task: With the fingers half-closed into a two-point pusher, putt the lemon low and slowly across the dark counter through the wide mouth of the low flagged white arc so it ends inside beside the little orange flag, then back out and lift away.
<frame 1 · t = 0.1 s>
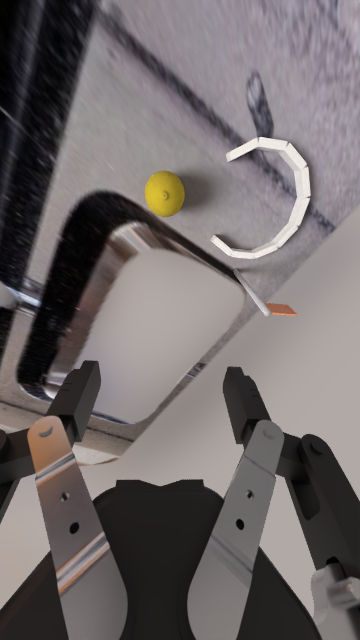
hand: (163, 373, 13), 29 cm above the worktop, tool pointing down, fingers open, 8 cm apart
lemon: (165, 193, 33), on the worktop
flagged white arc: (251, 205, 35), on the worktop
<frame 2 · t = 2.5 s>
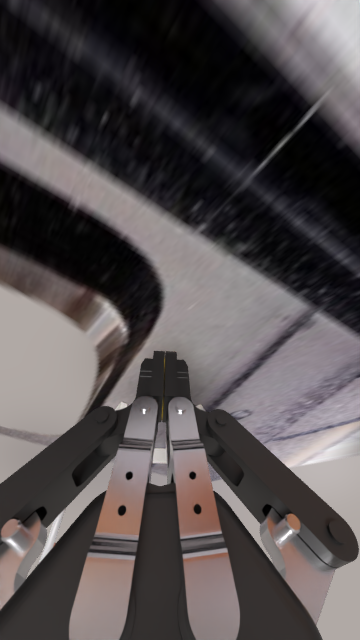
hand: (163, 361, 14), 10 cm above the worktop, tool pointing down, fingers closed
flagged white arc: (160, 425, 35), on the worktop
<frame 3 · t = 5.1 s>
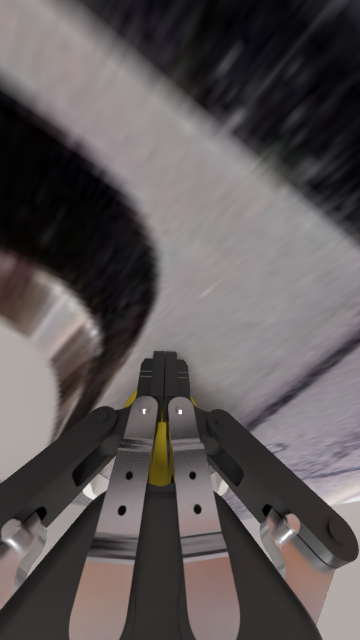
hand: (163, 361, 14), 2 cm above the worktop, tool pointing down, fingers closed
lemon: (162, 380, 18), on the worktop, touching gripper
flagged white arc: (158, 465, 25), on the worktop
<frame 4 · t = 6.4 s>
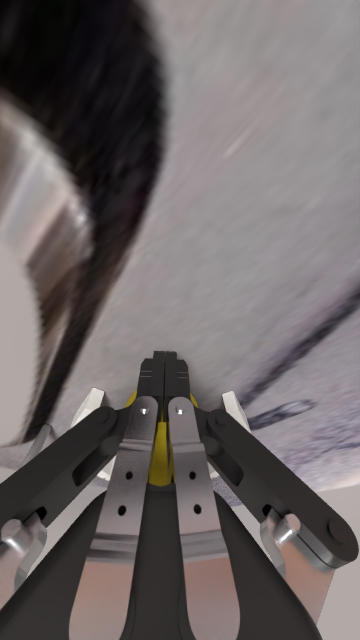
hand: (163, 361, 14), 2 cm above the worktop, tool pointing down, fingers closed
lemon: (163, 378, 18), on the worktop, touching gripper
flagged white arc: (162, 428, 21), on the worktop
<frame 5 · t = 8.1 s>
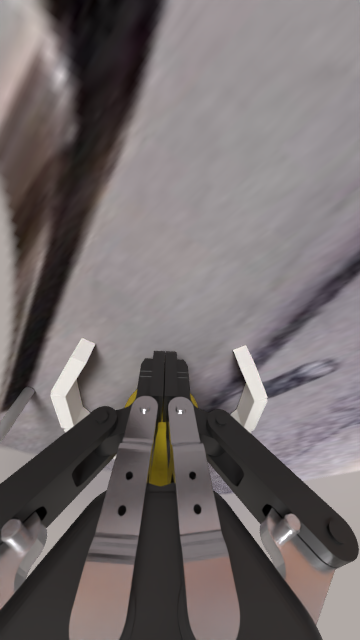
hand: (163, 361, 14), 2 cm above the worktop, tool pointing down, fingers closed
lemon: (163, 378, 18), on the worktop, touching gripper
flagged white arc: (162, 393, 19), on the worktop
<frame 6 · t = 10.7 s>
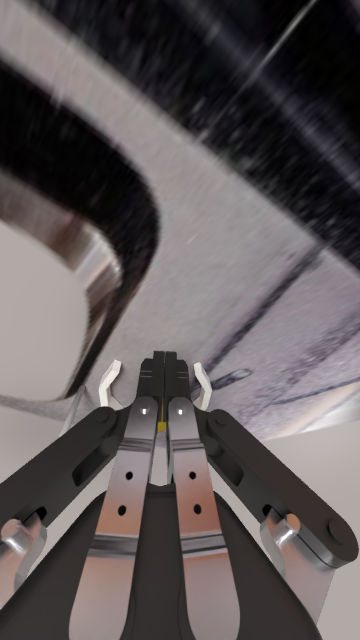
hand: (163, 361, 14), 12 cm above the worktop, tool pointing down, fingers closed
flagged white arc: (156, 387, 33), on the worktop
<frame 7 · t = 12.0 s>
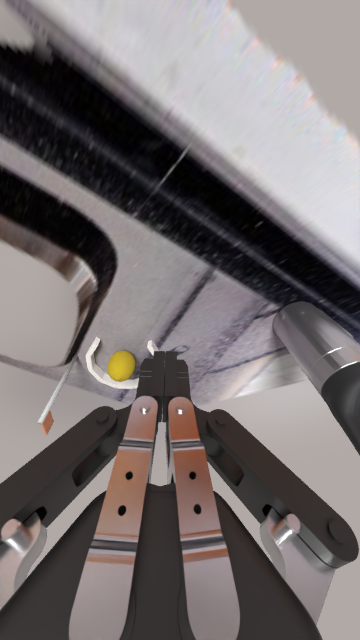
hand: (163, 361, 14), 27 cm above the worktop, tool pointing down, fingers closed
lemon: (125, 352, 49), on the worktop
flagged white arc: (125, 358, 49), on the worktop
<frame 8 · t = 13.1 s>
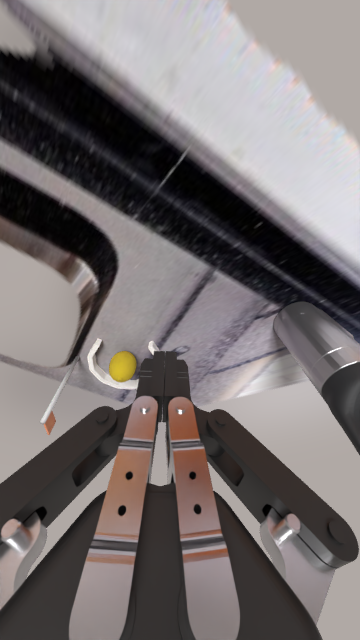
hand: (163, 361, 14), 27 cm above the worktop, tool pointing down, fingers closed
lemon: (126, 352, 49), on the worktop
flagged white arc: (126, 358, 50), on the worktop
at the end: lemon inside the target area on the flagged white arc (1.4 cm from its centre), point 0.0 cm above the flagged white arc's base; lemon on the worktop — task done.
